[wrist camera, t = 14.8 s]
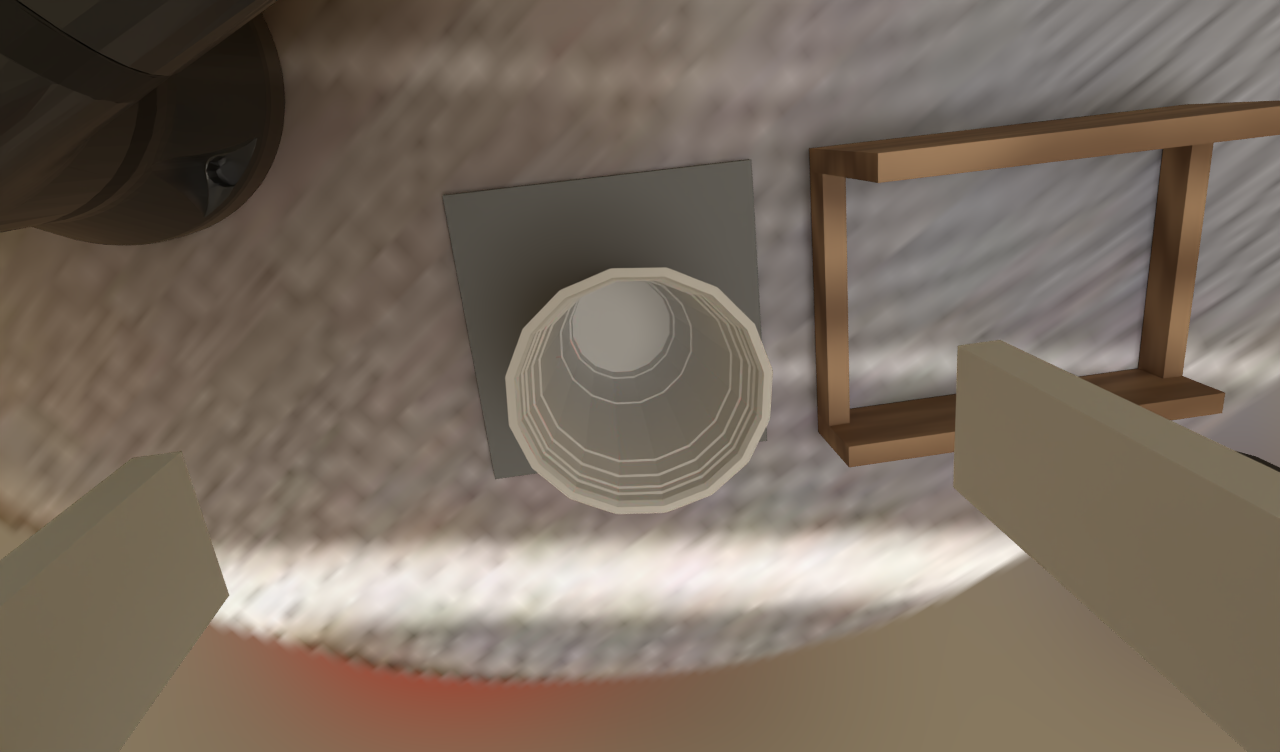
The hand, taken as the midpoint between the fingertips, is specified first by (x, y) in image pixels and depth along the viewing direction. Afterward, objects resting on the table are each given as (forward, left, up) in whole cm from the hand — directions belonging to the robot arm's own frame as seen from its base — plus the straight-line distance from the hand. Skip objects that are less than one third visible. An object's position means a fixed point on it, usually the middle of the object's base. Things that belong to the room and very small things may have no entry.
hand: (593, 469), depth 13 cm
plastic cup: (+5, +2, -28) cm, 29 cm away
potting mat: (+5, +2, -29) cm, 29 cm away
